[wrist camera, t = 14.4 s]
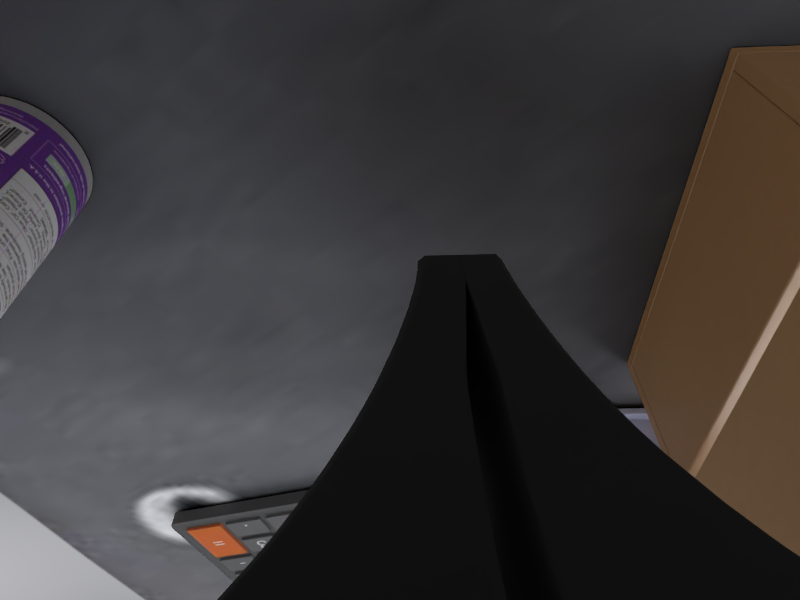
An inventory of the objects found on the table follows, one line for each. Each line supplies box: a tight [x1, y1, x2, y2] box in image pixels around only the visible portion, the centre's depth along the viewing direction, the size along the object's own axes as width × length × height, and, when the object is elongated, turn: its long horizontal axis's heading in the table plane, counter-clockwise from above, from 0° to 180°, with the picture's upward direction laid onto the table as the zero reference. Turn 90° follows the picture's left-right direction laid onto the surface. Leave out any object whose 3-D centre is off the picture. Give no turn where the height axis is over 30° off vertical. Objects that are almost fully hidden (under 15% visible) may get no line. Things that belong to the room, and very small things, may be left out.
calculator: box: [172, 490, 308, 581], centre depth 38 cm, size 12×1×15 cm
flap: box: [695, 288, 800, 556], centre depth 14 cm, size 8×14×1 cm
